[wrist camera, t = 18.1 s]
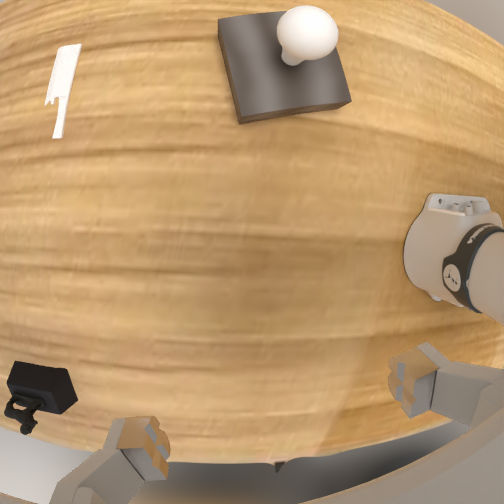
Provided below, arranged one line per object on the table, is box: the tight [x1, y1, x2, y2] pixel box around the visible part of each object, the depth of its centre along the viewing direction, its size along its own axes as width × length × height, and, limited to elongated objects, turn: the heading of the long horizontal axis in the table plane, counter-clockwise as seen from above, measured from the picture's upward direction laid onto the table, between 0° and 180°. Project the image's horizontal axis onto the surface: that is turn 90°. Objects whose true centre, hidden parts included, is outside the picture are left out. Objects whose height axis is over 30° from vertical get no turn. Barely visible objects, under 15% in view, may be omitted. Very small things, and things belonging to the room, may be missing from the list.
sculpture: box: [4, 361, 78, 435], centre depth 37 cm, size 8×13×15 cm, turn 88°
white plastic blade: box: [45, 44, 82, 139], centre depth 33 cm, size 5×15×1 cm, turn 172°
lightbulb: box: [277, 6, 338, 66], centre depth 27 cm, size 6×6×11 cm
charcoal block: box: [218, 11, 352, 124], centre depth 34 cm, size 14×14×5 cm
